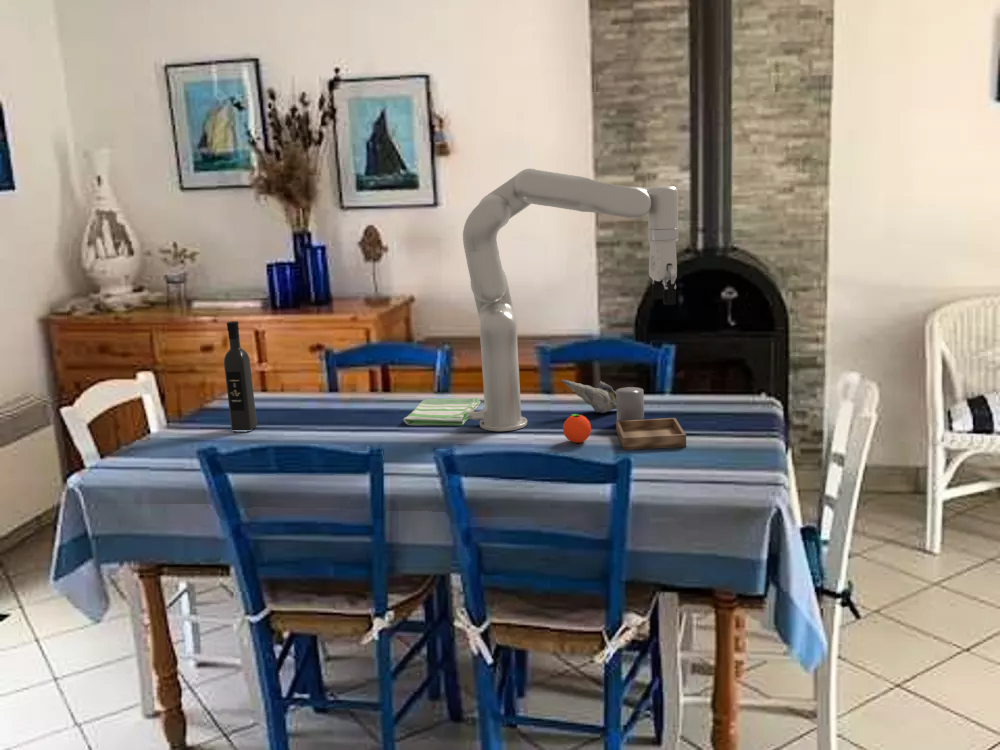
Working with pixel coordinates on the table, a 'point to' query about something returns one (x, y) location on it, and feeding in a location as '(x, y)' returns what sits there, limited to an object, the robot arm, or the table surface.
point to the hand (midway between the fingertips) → (664, 301)
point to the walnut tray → (650, 434)
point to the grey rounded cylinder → (630, 403)
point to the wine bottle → (239, 383)
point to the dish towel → (442, 411)
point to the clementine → (577, 428)
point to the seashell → (595, 395)
